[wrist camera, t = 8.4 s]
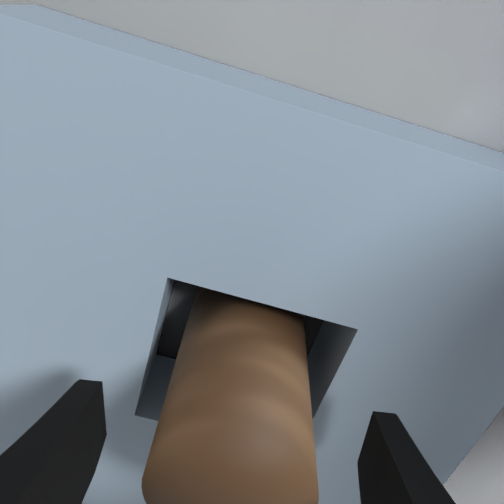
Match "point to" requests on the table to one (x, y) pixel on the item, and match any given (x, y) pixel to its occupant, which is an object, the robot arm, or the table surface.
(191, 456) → the walnut peg
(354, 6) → the table surface
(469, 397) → the socket block
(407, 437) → the robot arm
